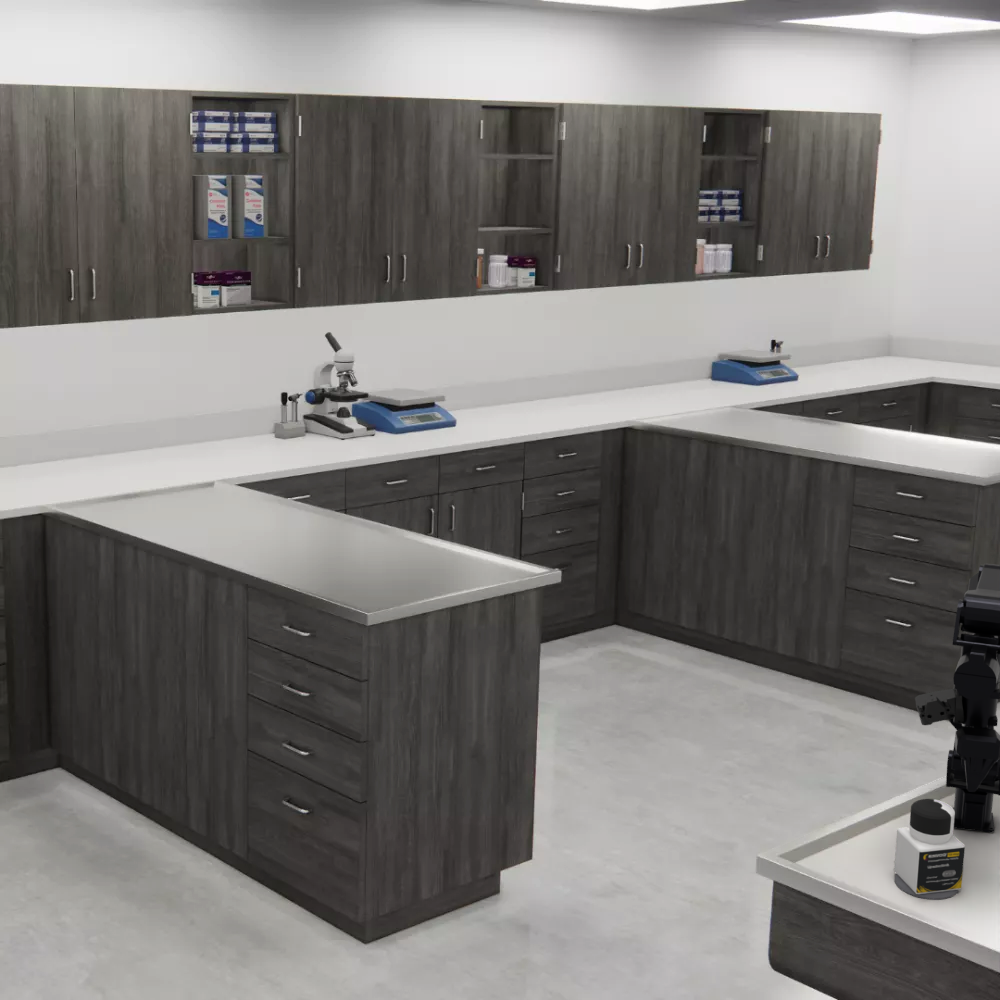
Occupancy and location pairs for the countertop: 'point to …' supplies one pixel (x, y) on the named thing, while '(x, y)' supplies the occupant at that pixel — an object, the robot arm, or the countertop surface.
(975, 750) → the robot arm
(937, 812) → the medicine bottle
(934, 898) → the pad
